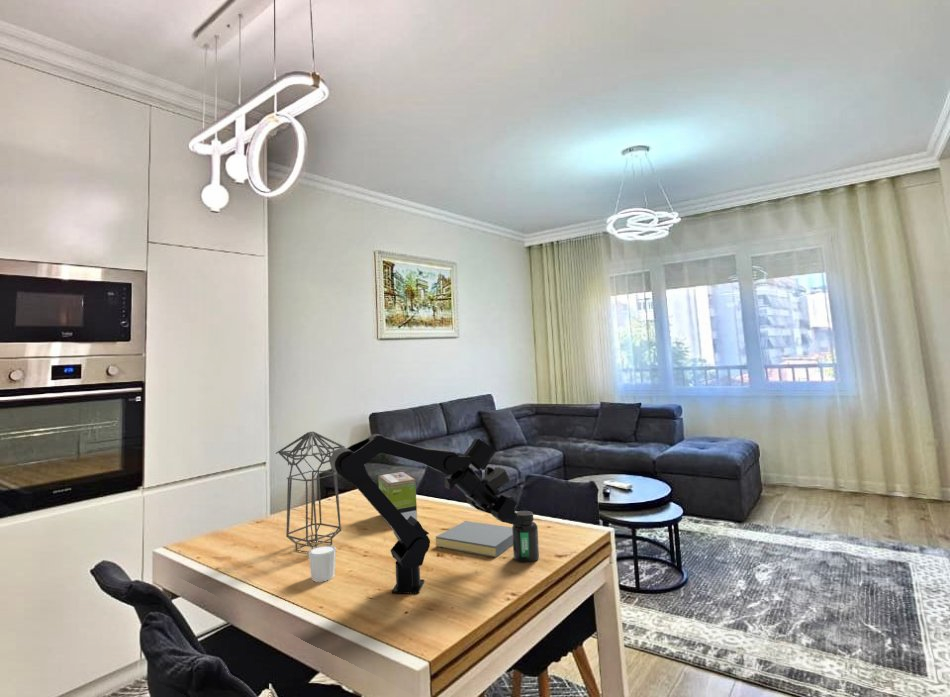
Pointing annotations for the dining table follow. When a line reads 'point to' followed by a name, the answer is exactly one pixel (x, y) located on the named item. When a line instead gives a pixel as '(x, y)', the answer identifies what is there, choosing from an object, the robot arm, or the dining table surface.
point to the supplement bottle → (525, 538)
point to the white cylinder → (322, 563)
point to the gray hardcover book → (477, 538)
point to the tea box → (400, 492)
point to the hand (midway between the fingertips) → (511, 520)
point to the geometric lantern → (297, 448)
